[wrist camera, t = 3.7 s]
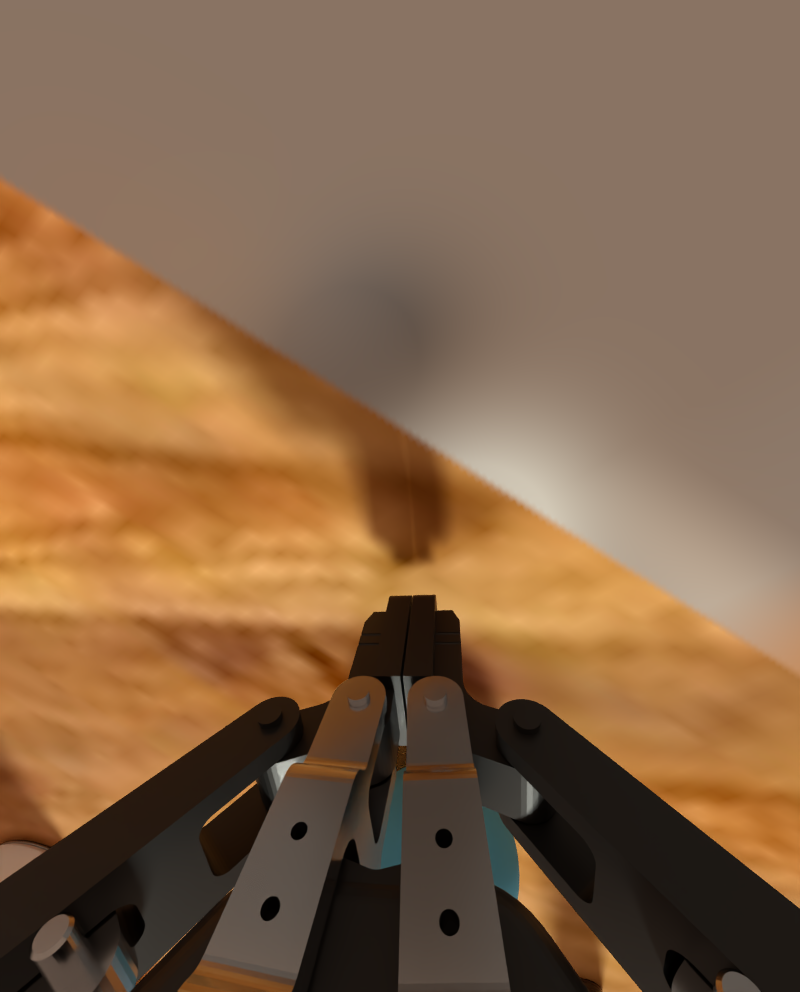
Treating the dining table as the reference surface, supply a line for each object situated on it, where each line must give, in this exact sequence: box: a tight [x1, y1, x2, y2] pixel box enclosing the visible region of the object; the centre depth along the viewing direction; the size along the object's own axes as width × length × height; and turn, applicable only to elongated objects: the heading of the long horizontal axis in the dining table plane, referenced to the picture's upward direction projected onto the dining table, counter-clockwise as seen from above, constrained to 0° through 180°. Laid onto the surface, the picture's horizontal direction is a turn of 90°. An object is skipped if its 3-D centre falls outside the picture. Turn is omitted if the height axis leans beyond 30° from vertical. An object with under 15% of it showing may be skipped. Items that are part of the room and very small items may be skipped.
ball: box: [381, 767, 519, 900], centre depth 15 cm, size 6×6×6 cm
